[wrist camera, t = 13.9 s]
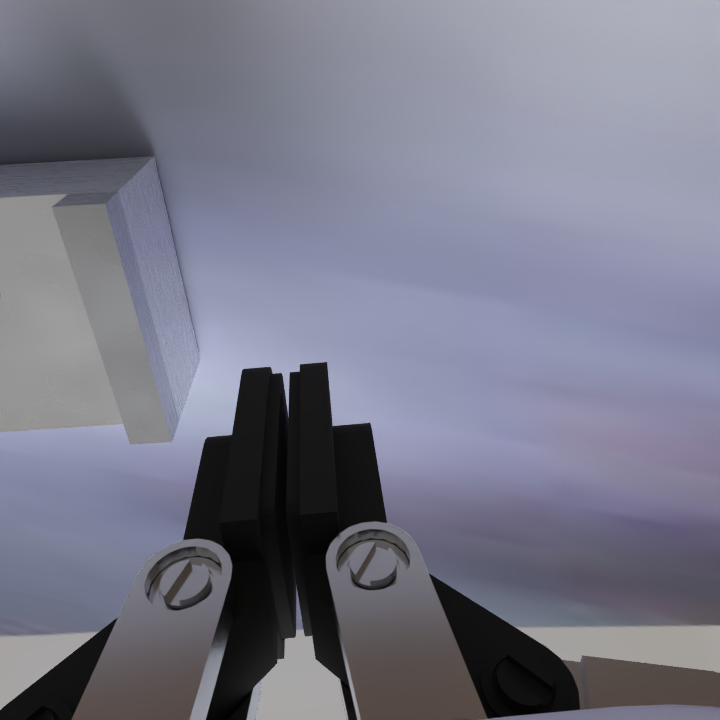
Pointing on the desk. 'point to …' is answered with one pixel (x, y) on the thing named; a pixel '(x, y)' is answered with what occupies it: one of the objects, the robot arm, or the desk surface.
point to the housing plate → (91, 300)
